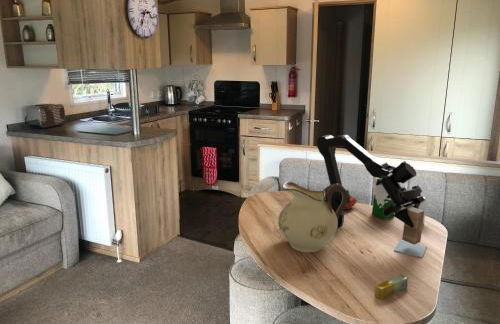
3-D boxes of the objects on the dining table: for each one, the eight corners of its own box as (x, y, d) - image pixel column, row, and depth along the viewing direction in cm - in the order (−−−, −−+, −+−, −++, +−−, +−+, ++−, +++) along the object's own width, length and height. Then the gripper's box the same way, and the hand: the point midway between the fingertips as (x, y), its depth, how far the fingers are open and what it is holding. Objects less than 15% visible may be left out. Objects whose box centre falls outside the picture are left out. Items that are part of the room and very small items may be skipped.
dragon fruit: (330, 211, 190) (353, 213, 192) (338, 207, 182) (361, 209, 185) (329, 194, 193) (351, 196, 196) (337, 189, 185) (360, 191, 188)
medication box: (400, 285, 126) (401, 274, 125) (407, 289, 124) (408, 277, 123) (373, 296, 120) (374, 284, 119) (380, 300, 118) (381, 289, 117)
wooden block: (414, 244, 145) (417, 213, 142) (402, 239, 149) (405, 209, 146) (420, 241, 148) (424, 210, 144) (408, 237, 151) (412, 206, 148)
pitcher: (266, 247, 150) (267, 185, 144) (297, 227, 169) (300, 171, 162) (318, 266, 137) (322, 199, 131) (346, 242, 156) (351, 182, 149)
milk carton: (383, 210, 187) (386, 170, 182) (397, 217, 179) (401, 175, 174) (368, 213, 183) (372, 172, 178) (382, 220, 175) (386, 178, 170)
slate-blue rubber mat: (393, 251, 148) (394, 250, 148) (399, 241, 156) (399, 239, 156) (422, 258, 143) (422, 256, 142) (426, 247, 151) (426, 246, 151)
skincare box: (424, 223, 172) (427, 197, 169) (417, 225, 170) (420, 199, 167) (413, 218, 177) (416, 193, 174) (406, 220, 176) (408, 195, 172)
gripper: (392, 183, 140) (417, 222, 134) (423, 175, 151) (447, 211, 145) (373, 198, 149) (395, 235, 143) (403, 189, 159) (424, 223, 153)
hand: (416, 225), depth 146 cm, fingers closed on wooden block, 4 cm apart
